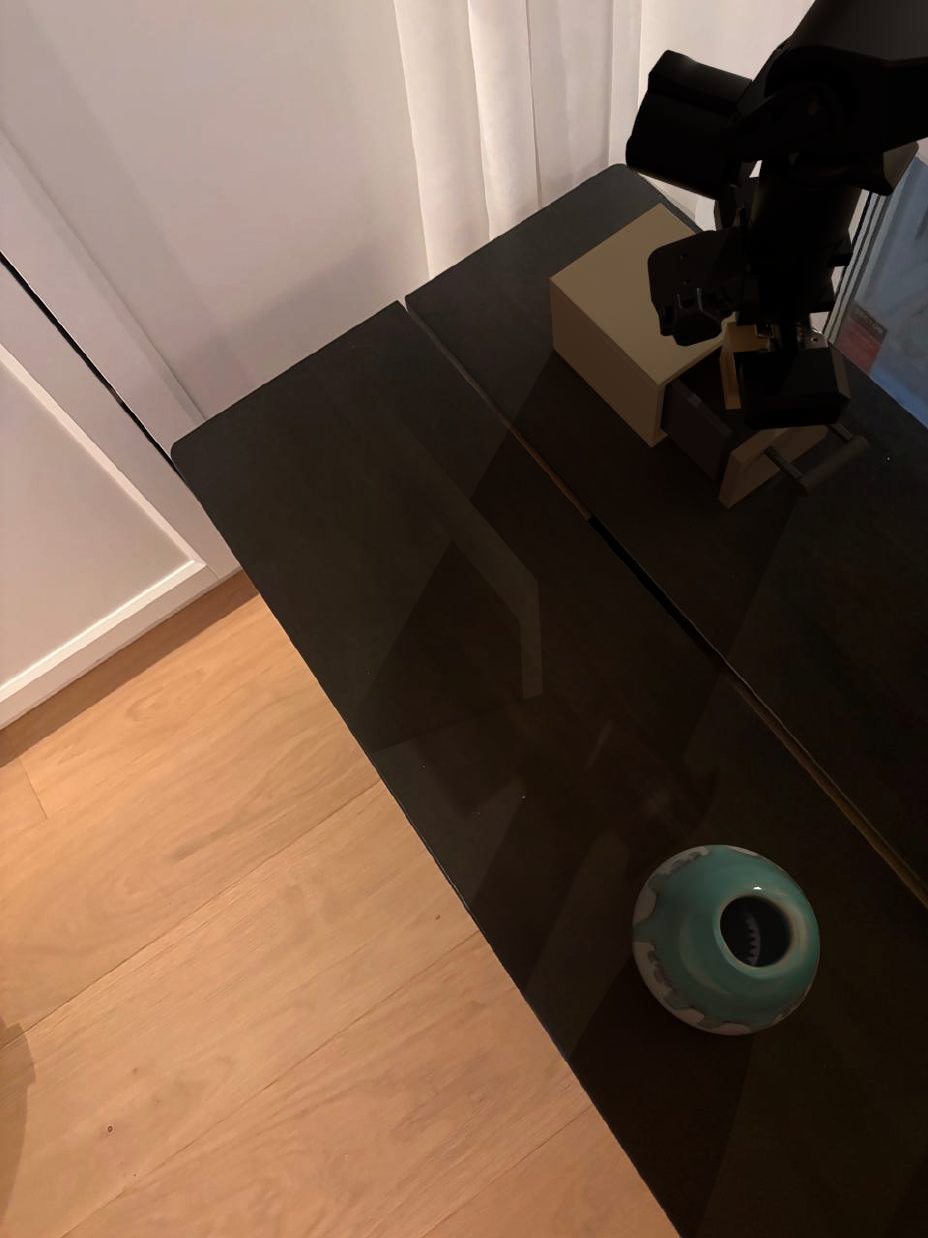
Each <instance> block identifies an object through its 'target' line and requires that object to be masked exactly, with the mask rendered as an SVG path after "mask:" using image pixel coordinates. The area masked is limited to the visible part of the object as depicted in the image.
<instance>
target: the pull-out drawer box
mask: <svg viewBox="0 0 928 1238" xmlns="http://www.w3.org/2000/svg"><path fill="white" fill-rule="evenodd" d="M721 350H722V345H721V346H720V347H718V348H717V349H716V350H714V351H713V352H711V353H710V354H709V355H707V356H706V357H704V358H703V359H702V360H700V361H699V362H697V363H696V364H695V365H693V366H692V367H690V368H689V369H687V370H686V371H685V372H683V373H682V374H680V375H679V376H678V377H676V378H675V379H673V380H672V381H671V382H669V383H668V384H666V385H665V392H664V400H663V408H662V416H661V423H660V428H661V429H662V430H663V431H664V432H665V433H666V434H667V435H668V436H667V437H669V438H670V439H671V440H672V441H673V442H674V443H675V444H676V445H677V446H678V447H679V448H680V449H681V450H682V451H683V452H684V453H685V454H686V455H687V457H688V458H690V459H691V460H692V461H693V462H694V463H695V464H696V465H697V466H698V467H699V468H700V469H701V470H702V471H703V472H704V473H705V474H706V475H707V476H708V477H709V478H710V479H711V480H712V481H713V482H715V481H716V480H718V479H719V478H721V477H722V476H723V479H722V482H721V487H720V489H719V494H718V497H717V500H718V501H719V503H721V504H722V505H723V506H724V507H725V508H726V509H727V510H728V509H730V508H731V507H733V506H734V505H735V504H736V503H738V502H740V501H741V500H742V499H743V498H745V497H746V496H748V495H749V494H750V493H752V492H753V491H754V490H756V489H757V488H758V487H760V486H762V485H763V484H764V483H765V482H767V481H768V480H769V479H771V478H772V477H773V476H775V475H776V474H777V473H779V472H783V474H785V476H787V477H788V478H789V479H790V481H792V482H793V488H794V490H795V491H796V493H797V494H798V495H799V496H801V497H803V498H806V497H808V496H810V495H811V494H812V493H814V492H815V491H816V490H818V489H819V488H821V486H823V485H824V484H826V483H827V482H829V481H830V480H831V479H832V478H834V477H835V476H837V475H838V474H839V473H841V472H842V471H843V470H845V469H846V468H847V467H849V466H850V465H851V464H853V463H854V462H856V461H857V460H858V459H860V457H862V456H863V455H864V454H866V453H867V452H869V450H870V444H869V443H868V440H867V439H866V438H864V437H863V436H861V435H856V436H854V435H852V434H851V432H849V431H848V430H847V428H845V427H844V426H843V425H841V423H840V422H839V421H838V422H837V423H836V424H829V425H816V426H804V427H791V428H778V429H766V430H752V429H750V428H749V427H747V426H746V425H744V424H743V418H742V411H741V408H740V409H728V410H726V406H725V399H724V391H723V384H722V377H721V369H720V362H719V359H720V354H721ZM828 431H830V432H831V433H832V434H833V435H835V437H836V438H838V439H839V440H840V441H841V442H842V443H843V445H841V447H839V448H838V449H837V450H835V451H834V452H833V453H831V454H830V455H829V456H827V457H826V458H824V459H823V460H821V462H819V463H818V464H816V465H815V466H814V467H812V468H810V470H808V471H807V472H805V473H804V474H802V472H800V471H799V470H798V469H797V468H796V467H795V466H794V465H793V464H792V462H793V461H795V460H796V459H798V458H799V457H800V456H802V455H803V454H804V453H805V452H807V451H808V450H810V449H811V448H812V447H814V446H815V445H817V443H819V442H821V441H822V440H823V439H825V438H826V436H827V434H828Z"/></svg>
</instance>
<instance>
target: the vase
mask: <svg viewBox="0 0 928 1238" xmlns="http://www.w3.org/2000/svg"><path fill="white" fill-rule="evenodd" d="M631 919H632V920H631V929H630V938H631V947H632V949H631V951H632V955H633V959H634V962H635V965H636V968H637V970H638V972H639V974H640V976H641V979H642V980H643V982H644V984H645V986H646V987H647V989H648V990H649V992H650V993H651V994H652V995H653V997H654V998H655V999H656V1001H658V1003H659V1004H660V1005H661V1006H663V1008H664V1009H666V1010H667V1011H668V1012H669V1013H670V1014H672V1016H674V1017H676V1018H677V1019H678V1020H679V1021H682V1022H683V1023H684V1024H687V1025H688V1026H690V1027H693V1028H695V1029H698V1030H700V1031H704V1032H707V1033H710V1034H716V1035H719V1036H720V1035H721V1036H745V1035H749V1034H754V1033H757V1032H761V1031H764V1030H767V1029H769V1028H771V1027H773V1026H776V1025H777V1024H779V1023H781V1022H782V1021H784V1020H785V1019H786V1018H787V1017H789V1016H790V1015H791V1014H792V1013H794V1011H795V1010H797V1008H798V1007H799V1006H800V1005H802V1002H803V1001H804V1000H805V998H806V997H807V996H808V994H809V992H810V990H811V988H812V986H813V983H814V981H815V979H816V976H817V971H818V968H819V962H820V950H821V944H820V943H821V942H820V931H819V930H820V929H819V926H818V921H817V918H816V916H815V913H814V910H813V908H812V905H811V903H810V901H809V899H808V897H807V896H806V894H805V893H804V891H803V889H802V888H801V887H800V885H799V884H798V883H797V882H796V881H795V879H793V878H792V877H791V876H790V874H789V873H788V872H787V871H785V870H784V869H783V868H782V867H780V866H779V865H778V864H776V863H775V862H774V861H772V860H770V859H768V858H766V857H765V856H763V855H761V854H759V853H757V852H755V851H751V850H750V849H746V848H742V847H739V846H732V845H726V844H725V845H724V844H708V845H701V846H695V847H693V848H689V849H686V850H683V851H681V852H679V853H677V854H675V855H673V856H671V857H669V858H668V859H666V860H665V861H664V862H662V863H661V864H660V865H659V866H657V867H656V869H655V870H653V872H652V873H651V874H650V876H648V878H647V879H646V881H645V882H644V884H643V885H642V888H641V889H640V891H639V893H638V895H637V897H636V900H635V903H634V908H633V913H632V918H631Z"/></svg>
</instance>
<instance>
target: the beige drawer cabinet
mask: <svg viewBox="0 0 928 1238" xmlns="http://www.w3.org/2000/svg"><path fill="white" fill-rule="evenodd" d="M694 234H696V233H695V232H694V231H693V230H692V229H691V228H690V227H688V226H687V225H686V224H685V223H684V222H683V221H682V220H680V219H679V218H678V217H677V216H675V214H674V213H673V212H671V211H670V210H669V209H668V208H666V206H664V205H663V204H662V203H661V202H659V203H658V204H656V205H655V206H653V207H652V208H651V209H649V210H647V211H646V212H644V213H643V214H641V215H640V216H638V217H637V218H636V219H634V220H633V221H631V222H629V224H627V225H626V226H624V227H622V228H621V229H620V230H618V231H617V232H615V233H614V234H612V235H611V236H609V237H608V238H607V239H604V241H602V242H601V243H599V244H598V245H596V246H595V247H593V248H592V249H590V250H589V251H588V252H586V253H584V254H583V255H582V256H580V257H579V258H578V259H576V260H574V261H573V262H572V263H570V264H569V265H567V266H566V267H564V268H563V269H561V270H559V272H557V273H555V274H554V275H552V276H551V277H550V278H549V279H548V280H549V294H550V297H549V298H550V311H551V327H552V328H551V329H552V345H553V346H552V347H553V350H554V351H556V353H558V355H559V356H560V357H561V358H563V360H564V361H565V362H566V363H567V364H568V365H569V366H570V367H571V368H572V369H573V370H574V371H575V372H576V373H577V374H578V375H579V376H580V377H581V378H582V379H583V380H584V381H585V382H586V383H587V384H588V385H589V386H590V387H591V388H592V389H593V390H594V392H596V393H597V394H598V395H599V396H600V397H601V398H602V400H604V402H605V403H607V404H608V405H609V407H611V408H612V409H613V410H614V412H615V413H616V414H618V416H620V418H621V419H622V420H624V422H625V423H626V424H627V425H628V426H629V427H630V428H631V429H632V430H633V431H634V432H635V433H637V435H638V436H639V437H640V438H641V440H643V441H644V442H645V443H646V444H647V445H648V446H649V447H650V448H653V447H655V446H656V445H657V444H658V443H659V442H661V441H662V440H664V439H665V438H666V437H669V436H668V435H667V434H666V433H665V432H664V431H663V430H662V429H661V428H660V423H661V416H662V408H663V400H664V392H665V385H666V384H668V383H669V382H671V381H672V380H673V379H675V378H676V377H678V376H679V375H680V374H682V373H683V372H685V371H686V370H687V369H689V368H690V367H692V366H693V365H695V364H696V363H697V362H699V361H700V360H702V359H703V358H704V357H706V356H707V355H709V354H710V353H711V352H713V351H714V350H716V349H717V348H718V347H720V346H721V345H723V340H724V336H725V331H726V326H727V322H734V321H735V312H733V313H732V315H731V316H730V317H728V318H726V319H724V320H723V321H722V323H721V325H722V332H721V333H720V334H719V336H717V337H716V338H714V339H710V340H707V341H704V342H700V343H697V344H694V345H691V346H687V347H684V346H679V345H677V344H676V342H675V340H674V338H673V336H672V335H671V336H662V335H661V333H660V325H659V316H658V314H657V312H656V310H655V307H654V305H653V303H652V301H651V295H650V285H649V276H648V266H647V261H648V258H649V256H650V254H651V253H652V252H653V251H654V250H655V249H657V248H659V247H661V246H663V245H666V244H669V243H672V242H675V241H677V240H680V239H683V238H686V237H689V236H692V235H694Z"/></svg>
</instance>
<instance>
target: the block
mask: <svg viewBox="0 0 928 1238" xmlns="http://www.w3.org/2000/svg"><path fill="white" fill-rule="evenodd" d="M771 327H772V332H773V326H772V324H771ZM770 338H774V333H773V336H772V337H770ZM768 339H769V338H765V339H759V338H757V336H756V331H755V325H748V326H737V327H736V321H734V322H727V326H726V331H725V336H724V340H723V345H722V350H721V354H720V359H719V362H720V369H721V377H722V384H723V391H724V399H725V406H726V410H728V409H740V408H741V404H740V397H739V384H738V382H737V377H736V370H735V363H734V356H733V353H734V352H743V351H755V350H759V349H760V348H766V349H767V342H768Z"/></svg>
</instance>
